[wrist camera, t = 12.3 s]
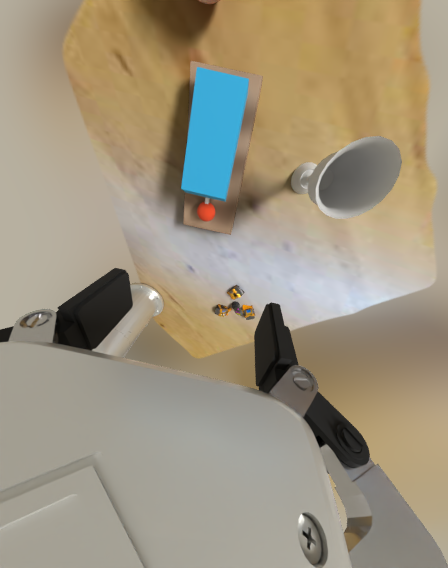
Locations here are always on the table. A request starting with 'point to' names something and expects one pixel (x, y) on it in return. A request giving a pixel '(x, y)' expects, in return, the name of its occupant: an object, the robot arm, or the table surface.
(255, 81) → the walnut riser block
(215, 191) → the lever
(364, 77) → the table surface
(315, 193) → the chalice
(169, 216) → the table surface
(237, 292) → the toy set
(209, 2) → the decorative fruit
